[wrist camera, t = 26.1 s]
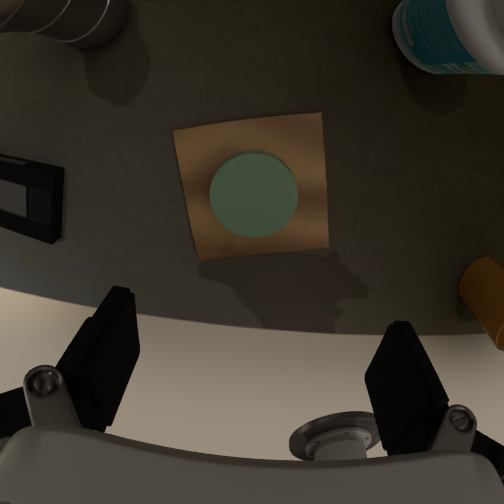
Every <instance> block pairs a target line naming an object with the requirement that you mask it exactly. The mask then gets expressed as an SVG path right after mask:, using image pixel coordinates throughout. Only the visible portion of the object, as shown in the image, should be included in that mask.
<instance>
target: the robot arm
mask: <svg viewBox="0 0 504 504" xmlns="http://www.w3.org/2000/svg"><path fill="white" fill-rule="evenodd" d="M139 353H140V344H139V335H138V326H137V317H136V306H135V295H134V293H130V289H129V288H125V287H119V286H113V287H112V288H111V290H110V291H109V293H108V294H107V296H106V297H105V298H104V300H103V301H102V303H101V304H100V306H99V307H98V309H97V310H96V312H95V313H94V315H93V316H92V317H88V318H87V319H86V320H85V321H84V323H83V324H82V326H81V327H80V329H79V331H78V332H77V334H76V335H75V337H74V338H73V340H72V341H71V343H70V344H69V346H68V347H67V349H66V351H65V352H64V354H63V356H62V357H61V359H60V360H59V362H58V364H57V365H56V367H53V366H50V365H40V366H37V367H35V368H33V369H31V370H30V371H29V372H28V373H27V374H26V375H25V378H24V380H23V387H20V388H16V389H14V390H10V391H7V392H4V393H1V394H0V504H504V446H503V445H501V444H499V443H498V442H496V441H494V440H493V439H491V438H489V437H488V436H486V435H484V434H482V433H481V432H479V431H477V430H476V428H477V421H476V417H475V416H474V414H473V413H472V412H471V411H470V409H468V408H467V407H465V406H462V405H457V404H456V405H452V406H450V407H449V406H448V401H449V398H448V396H447V394H446V392H445V390H444V388H443V386H442V383H441V381H440V380H439V377H438V375H437V373H436V371H435V369H434V367H433V365H432V363H431V362H430V359H429V357H428V355H427V353H426V351H425V350H424V347H423V346H422V344H421V342H420V340H419V338H418V336H417V334H416V332H415V330H414V329H413V327H412V325H411V323H410V322H408V321H394V322H393V324H390V325H389V326H388V328H387V330H386V333H385V335H384V337H383V339H382V341H381V343H380V345H379V347H378V349H377V351H376V354H375V355H374V357H373V359H372V362H371V363H370V365H369V367H368V369H367V371H366V373H365V383H366V387H367V390H368V394H369V398H370V401H371V405H372V408H373V412H374V416H375V419H376V423H377V427H378V431H379V435H380V439H381V442H382V447H383V449H384V450H385V451H386V450H387V454H388V456H385V457H376V458H367V455H366V450H365V448H366V447H367V446H368V445H369V444H370V442H371V439H372V438H371V434H370V432H369V431H368V430H366V429H364V428H360V427H343V428H337V429H332V430H329V431H325V432H323V433H320V434H318V435H316V436H314V437H313V438H311V439H310V440H309V441H308V442H307V443H306V445H305V453H306V455H307V456H308V457H310V458H312V459H314V461H291V460H267V459H251V458H240V457H229V456H220V455H213V454H205V453H198V452H192V451H186V450H180V449H174V448H169V447H164V446H159V445H154V444H149V443H144V442H140V441H136V440H132V439H127V438H123V437H119V436H115V435H112V434H107V433H104V432H105V429H106V427H107V426H111V425H112V423H113V420H114V418H115V415H116V413H117V410H118V407H119V405H120V402H121V400H122V397H123V394H124V392H125V389H126V387H127V384H128V381H129V379H130V377H131V374H132V372H133V369H134V367H135V364H136V362H137V360H138V357H139ZM95 430H96V431H95Z"/></svg>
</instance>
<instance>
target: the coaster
mask: <svg viewBox="0 0 504 504" xmlns="http://www.w3.org/2000/svg"><path fill="white" fill-rule="evenodd" d="M173 137H174V142H175V148H176V153H177V159H178V164H179V170H180V175H181V180H182V185H183V190H184V195H185V200H186V205H187V210H188V214H189V219H190V224H191V228H192V233H193V238H194V242H195V247H196V251H197V256H198V260H209V259H219V258H229V257H239V256H249V255H259V254H269V253H279V252H289V251H299V250H309V249H319V248H328V247H329V238H328V206H327V184H326V167H325V152H324V139H323V127H322V115H321V113H303V114H290V115H279V116H269V117H259V118H251V119H242V120H235V121H228V122H221V123H214V124H208V125H202V126H196V127H190V128H185V129H179V130H174V131H173ZM250 149H251V150H261V149H262V150H263V151H266V152H269V153H274V155H276V156H277V157H279V158H280V159H281V160H282V159H283V161H284V162H285V163H286V165H287V166H288V167H290V168H291V171H292V174H293V177H295V179H296V181H297V182H296V185H297V189H298V202H297V207H296V210H295V212H294V214H293V216H292V218H291V219H290V220H289V222H288V223H287V224H286V225H285V226H284V227H283V228H281V229H280V230H278V231H277V232H275V233H273V234H270V235H267V236H263V237H245V236H241V235H238V234H235V233H233V232H231V231H230V230H228V229H227V228H225V227H224V226H223V225H222V224H221V223H220V222H219V221H218V219H217V218H216V216H215V215H214V213H213V211H212V208H211V204H210V198H209V193H210V186H211V182H212V180H213V175H214V174H215V173H216V172H217V170H218V169H219V166H220V164H222V163H223V162H224V161H225V160H227V159H228V157H229V156H230V157H231V156H232V155H234V154H236V153H238V152H239V151H240V152H242V151H245V150H250Z"/></svg>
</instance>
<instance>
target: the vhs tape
mask: <svg viewBox="0 0 504 504" xmlns="http://www.w3.org/2000/svg"><path fill="white" fill-rule="evenodd" d="M63 179H64V168H62V167H58V166H53V165H49V164H44V163H40V162H35V161H31V160H26V159H21V158H16V157H12V156H7V155H2V154H0V226H1V227H3V228H6V229H9V230H11V231H14V232H17V233H20V234H23V235H25V236H28V237H31V238H34V239H37V240H40V241H43V242H46V243H49V244H51V245H52V244H54V243H55V242H56V241H57V240H58V239H59V238H60V237H61V223H62V195H63Z"/></svg>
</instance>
